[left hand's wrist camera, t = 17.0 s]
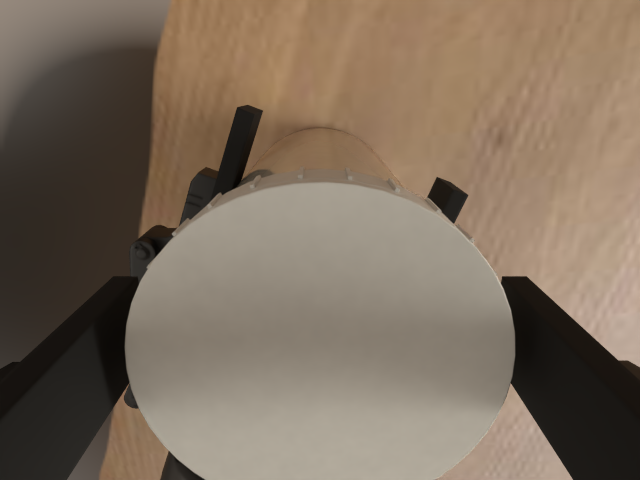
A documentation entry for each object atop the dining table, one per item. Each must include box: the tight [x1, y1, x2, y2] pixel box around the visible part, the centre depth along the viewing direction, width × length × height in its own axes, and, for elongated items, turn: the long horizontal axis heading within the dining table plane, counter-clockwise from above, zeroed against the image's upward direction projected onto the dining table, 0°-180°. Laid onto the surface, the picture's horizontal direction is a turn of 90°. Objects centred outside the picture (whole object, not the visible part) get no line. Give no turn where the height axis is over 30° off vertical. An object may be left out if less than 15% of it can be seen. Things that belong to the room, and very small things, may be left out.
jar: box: [236, 128, 404, 188], centre depth 19 cm, size 9×9×16 cm
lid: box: [125, 166, 515, 480], centre depth 11 cm, size 10×10×2 cm
